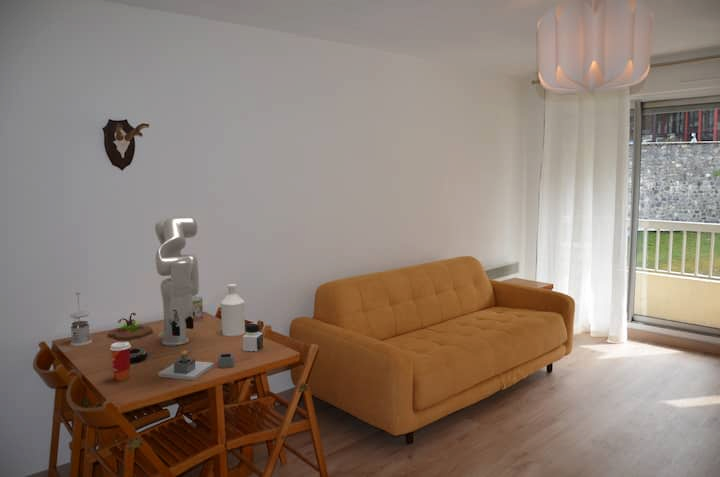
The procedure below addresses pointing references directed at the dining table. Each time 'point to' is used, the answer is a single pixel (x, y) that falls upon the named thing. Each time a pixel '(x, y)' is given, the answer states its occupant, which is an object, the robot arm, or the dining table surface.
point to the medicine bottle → (252, 338)
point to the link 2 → (225, 360)
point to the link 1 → (184, 366)
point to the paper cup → (121, 360)
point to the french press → (80, 328)
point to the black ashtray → (137, 355)
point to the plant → (130, 330)
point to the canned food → (197, 309)
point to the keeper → (198, 371)
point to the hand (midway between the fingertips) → (183, 332)
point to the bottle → (233, 313)
